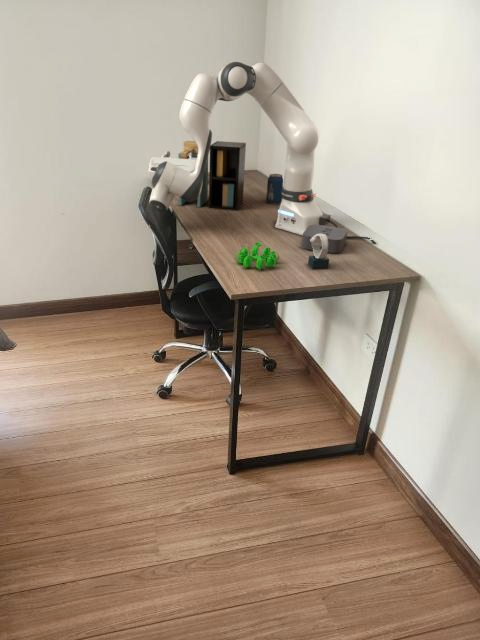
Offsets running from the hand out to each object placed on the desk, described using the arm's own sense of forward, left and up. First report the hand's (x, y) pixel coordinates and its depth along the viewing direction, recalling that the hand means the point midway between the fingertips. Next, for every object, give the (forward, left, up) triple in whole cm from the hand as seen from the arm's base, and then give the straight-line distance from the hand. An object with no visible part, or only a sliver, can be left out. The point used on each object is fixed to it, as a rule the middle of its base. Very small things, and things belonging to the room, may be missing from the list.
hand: (179, 153), depth 219 cm
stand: (+12, -15, -25) cm, 31 cm away
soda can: (-6, -47, -25) cm, 53 cm away
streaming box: (-62, -25, -25) cm, 72 cm away
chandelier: (-63, +7, -25) cm, 69 cm away
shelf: (0, -25, -25) cm, 35 cm away
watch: (-76, -9, -25) cm, 81 cm away
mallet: (+8, -10, -3) cm, 13 cm away
